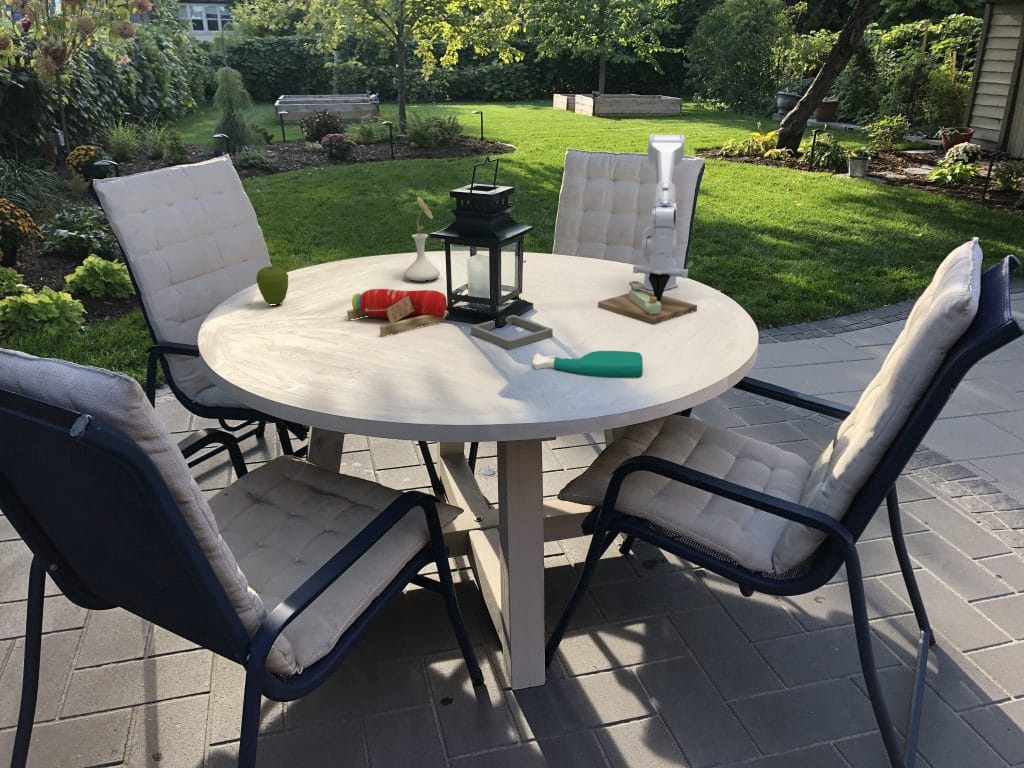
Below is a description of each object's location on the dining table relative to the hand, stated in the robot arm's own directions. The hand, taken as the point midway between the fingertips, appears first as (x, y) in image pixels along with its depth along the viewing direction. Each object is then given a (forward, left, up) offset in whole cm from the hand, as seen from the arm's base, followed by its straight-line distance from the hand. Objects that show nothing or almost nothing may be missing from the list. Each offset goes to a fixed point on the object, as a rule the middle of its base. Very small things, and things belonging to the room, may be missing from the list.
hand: (658, 300), depth 213 cm
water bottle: (+60, -38, -2) cm, 71 cm away
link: (+5, 0, -1) cm, 5 cm away
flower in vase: (+32, -68, -2) cm, 76 cm away
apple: (+79, -72, -2) cm, 107 cm away
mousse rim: (+45, -9, -2) cm, 46 cm away
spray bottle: (+45, +18, -3) cm, 49 cm away
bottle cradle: (+60, -38, -2) cm, 71 cm away
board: (+3, -1, -2) cm, 4 cm away
